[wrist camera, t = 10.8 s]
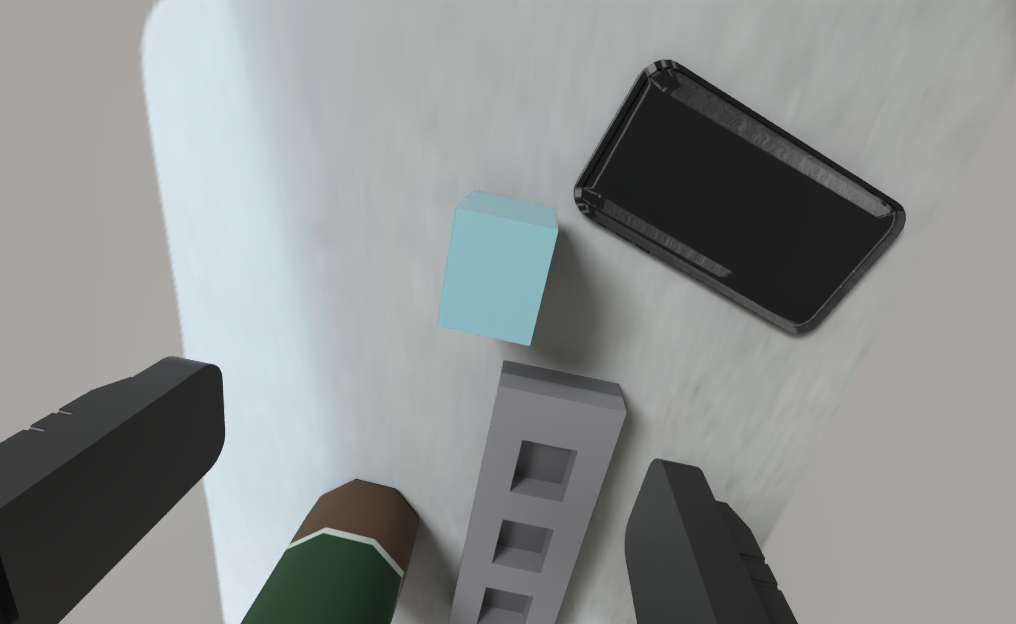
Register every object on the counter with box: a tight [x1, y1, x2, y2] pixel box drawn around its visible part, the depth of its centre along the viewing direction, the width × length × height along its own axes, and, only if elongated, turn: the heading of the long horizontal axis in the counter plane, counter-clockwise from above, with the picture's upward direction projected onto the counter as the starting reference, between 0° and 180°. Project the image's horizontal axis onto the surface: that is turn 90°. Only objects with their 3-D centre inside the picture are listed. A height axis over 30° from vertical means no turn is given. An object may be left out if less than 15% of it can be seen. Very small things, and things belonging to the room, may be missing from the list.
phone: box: [574, 60, 906, 333], centre depth 24 cm, size 8×1×15 cm
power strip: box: [448, 361, 627, 624], centre depth 30 cm, size 22×7×4 cm, turn 169°
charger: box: [437, 190, 558, 346], centre depth 22 cm, size 5×4×7 cm
